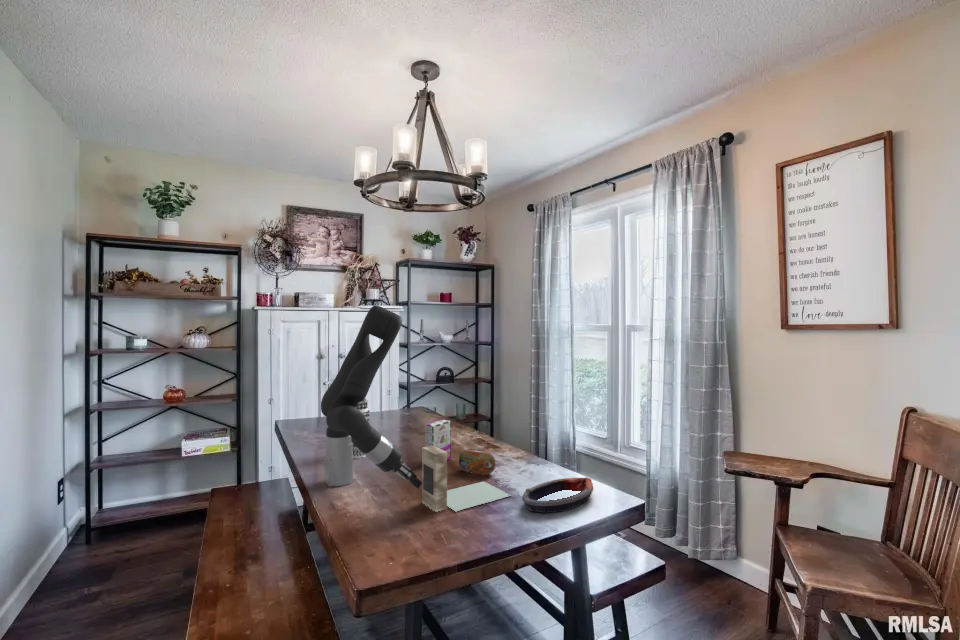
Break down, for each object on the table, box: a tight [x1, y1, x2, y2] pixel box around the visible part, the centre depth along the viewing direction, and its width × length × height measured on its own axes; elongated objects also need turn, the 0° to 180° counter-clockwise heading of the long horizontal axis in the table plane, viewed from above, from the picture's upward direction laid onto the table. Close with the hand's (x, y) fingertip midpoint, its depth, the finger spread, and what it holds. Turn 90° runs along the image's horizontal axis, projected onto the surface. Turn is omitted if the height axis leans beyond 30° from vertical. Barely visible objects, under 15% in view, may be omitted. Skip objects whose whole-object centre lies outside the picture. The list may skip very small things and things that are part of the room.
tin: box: [458, 449, 496, 476], centre depth 177 cm, size 15×3×8 cm, turn 62°
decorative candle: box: [353, 397, 371, 459], centre depth 199 cm, size 9×9×25 cm
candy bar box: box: [424, 419, 452, 461], centre depth 190 cm, size 11×5×16 cm, turn 143°
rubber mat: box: [447, 481, 512, 513], centre depth 154 cm, size 22×16×1 cm
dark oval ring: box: [521, 476, 594, 513], centre depth 150 cm, size 16×31×5 cm, turn 126°
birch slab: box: [421, 446, 448, 513], centre depth 146 cm, size 4×9×18 cm, turn 35°
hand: (419, 485), depth 143 cm, fingers closed
